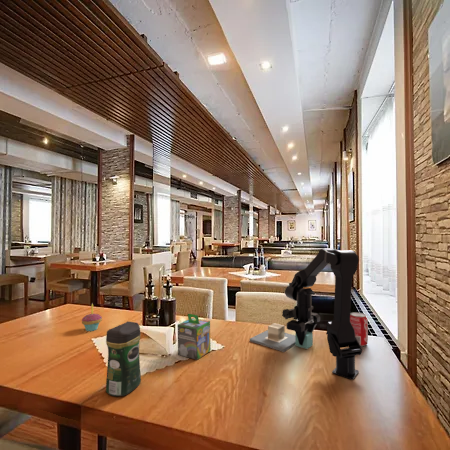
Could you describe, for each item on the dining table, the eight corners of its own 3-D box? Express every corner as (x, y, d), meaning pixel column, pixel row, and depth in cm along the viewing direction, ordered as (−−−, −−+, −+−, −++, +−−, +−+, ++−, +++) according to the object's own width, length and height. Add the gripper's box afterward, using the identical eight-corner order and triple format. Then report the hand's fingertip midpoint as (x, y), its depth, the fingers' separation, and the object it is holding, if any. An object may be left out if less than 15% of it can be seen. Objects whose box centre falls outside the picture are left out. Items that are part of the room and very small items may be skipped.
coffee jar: (124, 377, 89) (124, 318, 89) (145, 383, 86) (145, 321, 86) (100, 394, 80) (100, 328, 80) (122, 400, 77) (122, 331, 78)
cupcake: (82, 327, 134) (82, 302, 134) (101, 325, 138) (101, 300, 138) (81, 334, 126) (81, 306, 126) (102, 331, 130) (102, 304, 130)
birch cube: (278, 341, 116) (278, 328, 116) (267, 338, 119) (267, 326, 119) (284, 337, 120) (284, 325, 120) (274, 334, 123) (274, 323, 123)
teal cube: (307, 349, 111) (307, 336, 111) (295, 345, 114) (295, 333, 115) (312, 345, 115) (312, 332, 115) (301, 342, 118) (301, 330, 118)
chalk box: (211, 351, 109) (211, 312, 109) (196, 360, 101) (197, 318, 101) (191, 346, 114) (191, 308, 114) (176, 354, 106) (176, 314, 106)
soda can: (363, 340, 119) (363, 312, 120) (370, 347, 112) (370, 317, 113) (346, 340, 120) (346, 311, 120) (352, 347, 113) (352, 316, 113)
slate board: (283, 352, 108) (283, 349, 108) (249, 341, 119) (249, 338, 119) (302, 339, 120) (302, 337, 120) (270, 330, 131) (270, 328, 131)
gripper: (296, 296, 127) (296, 331, 127) (274, 304, 113) (274, 344, 113) (320, 300, 120) (320, 338, 120) (300, 310, 106) (300, 352, 106)
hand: (304, 342), depth 115 cm, fingers open, 5 cm apart
